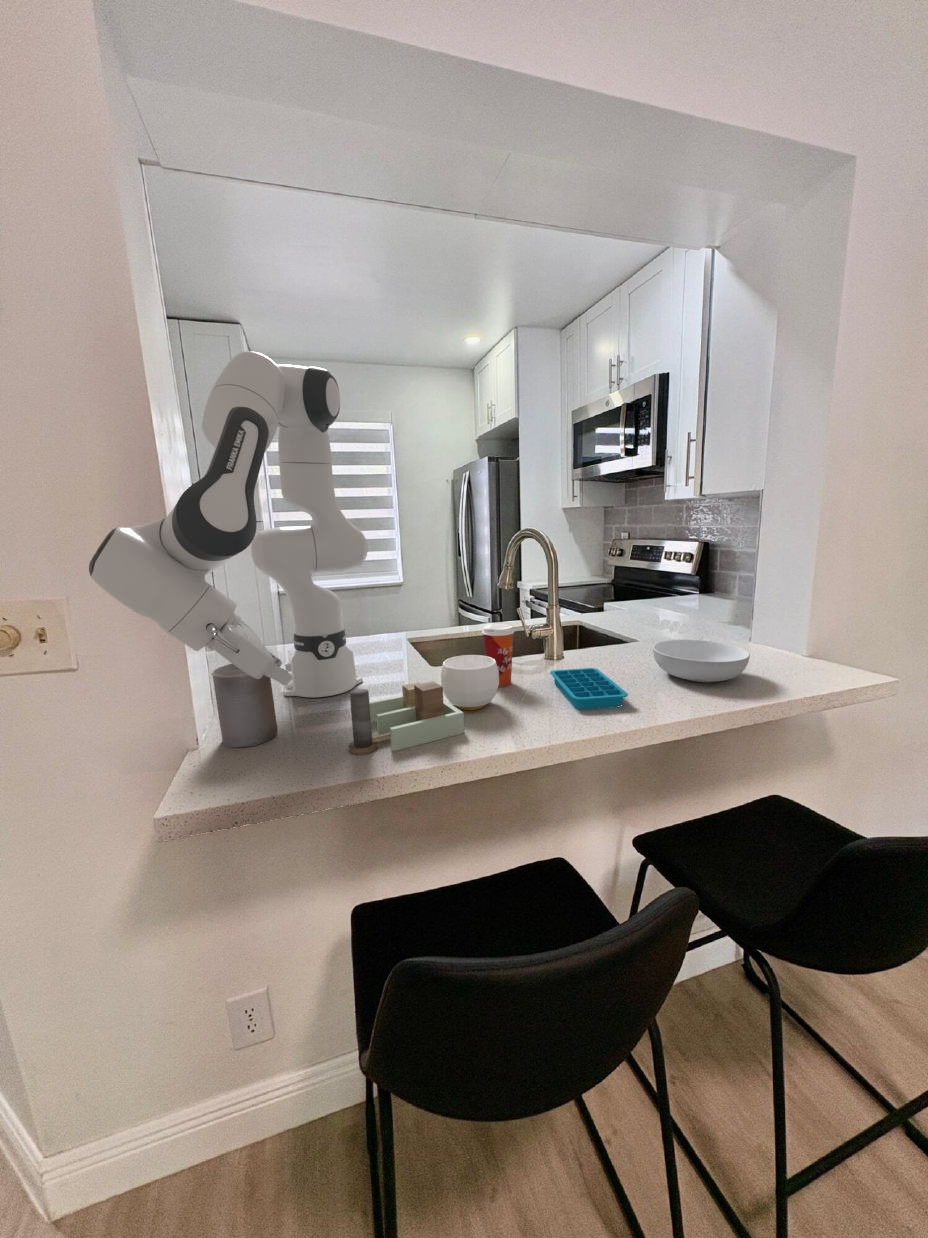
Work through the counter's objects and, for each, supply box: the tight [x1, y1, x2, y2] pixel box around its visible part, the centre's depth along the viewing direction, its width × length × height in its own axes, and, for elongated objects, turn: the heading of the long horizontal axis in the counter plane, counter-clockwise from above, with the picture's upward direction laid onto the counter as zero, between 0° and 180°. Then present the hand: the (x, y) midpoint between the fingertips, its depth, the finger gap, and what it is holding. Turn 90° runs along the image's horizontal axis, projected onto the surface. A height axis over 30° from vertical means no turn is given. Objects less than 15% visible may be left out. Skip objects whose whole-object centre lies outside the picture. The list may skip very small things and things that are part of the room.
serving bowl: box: [652, 639, 751, 683], centre depth 119 cm, size 21×21×7 cm
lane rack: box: [369, 694, 465, 752], centre depth 95 cm, size 15×14×4 cm
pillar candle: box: [211, 663, 278, 749], centre depth 93 cm, size 10×10×15 cm
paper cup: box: [481, 623, 515, 688], centre depth 119 cm, size 8×8×14 cm
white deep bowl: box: [440, 654, 499, 711], centre depth 105 cm, size 12×12×10 cm
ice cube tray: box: [549, 667, 629, 711], centre depth 111 cm, size 12×20×3 cm, turn 5°
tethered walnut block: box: [348, 680, 444, 756], centre depth 89 cm, size 5×18×10 cm, turn 119°
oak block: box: [401, 681, 421, 708], centre depth 99 cm, size 4×4×7 cm
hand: (283, 673), depth 79 cm, fingers open, 8 cm apart
